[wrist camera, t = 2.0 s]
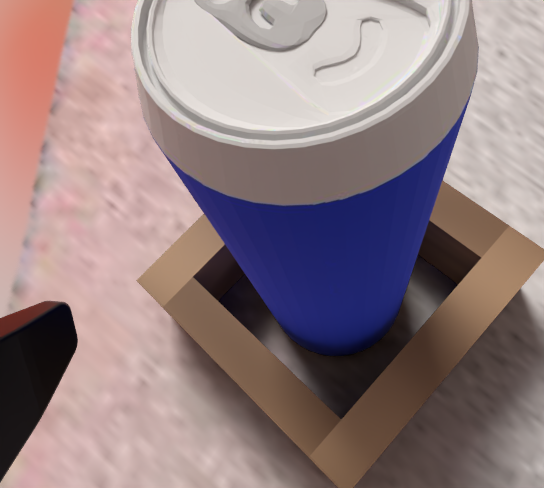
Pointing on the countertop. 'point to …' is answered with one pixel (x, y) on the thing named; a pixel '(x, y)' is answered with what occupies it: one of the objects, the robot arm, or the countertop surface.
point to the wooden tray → (398, 374)
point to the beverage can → (311, 142)
